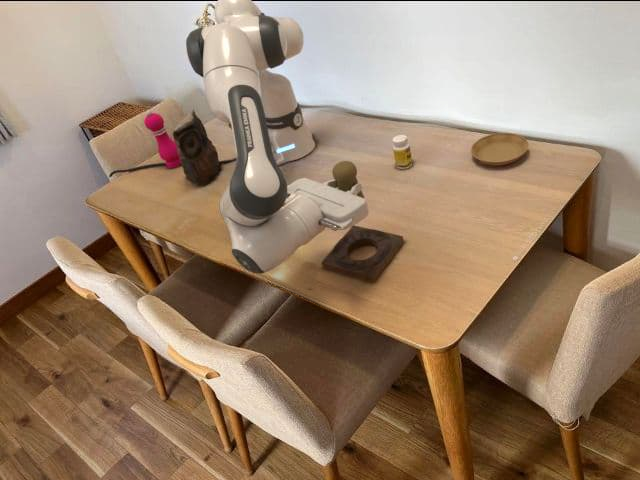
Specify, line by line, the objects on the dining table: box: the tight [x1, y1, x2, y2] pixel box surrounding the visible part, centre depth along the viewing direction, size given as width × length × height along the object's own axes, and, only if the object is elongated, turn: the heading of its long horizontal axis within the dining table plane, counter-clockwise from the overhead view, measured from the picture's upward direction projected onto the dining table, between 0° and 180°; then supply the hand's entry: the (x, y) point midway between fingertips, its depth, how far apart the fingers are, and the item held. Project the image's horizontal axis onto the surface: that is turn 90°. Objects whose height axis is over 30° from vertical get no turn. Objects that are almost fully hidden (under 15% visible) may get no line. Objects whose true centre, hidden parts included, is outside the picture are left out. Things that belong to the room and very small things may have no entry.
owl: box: [172, 109, 222, 187], centre depth 156 cm, size 13×13×20 cm
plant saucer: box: [470, 132, 530, 167], centre depth 134 cm, size 15×15×3 cm
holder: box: [321, 225, 405, 283], centre depth 116 cm, size 14×14×2 cm
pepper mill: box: [143, 109, 181, 169], centre depth 168 cm, size 7×7×20 cm
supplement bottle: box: [392, 134, 413, 170], centre depth 139 cm, size 5×5×8 cm
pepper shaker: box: [331, 160, 366, 200], centre depth 108 cm, size 6×6×11 cm
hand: (350, 182), depth 108 cm, fingers closed on pepper shaker, 4 cm apart
